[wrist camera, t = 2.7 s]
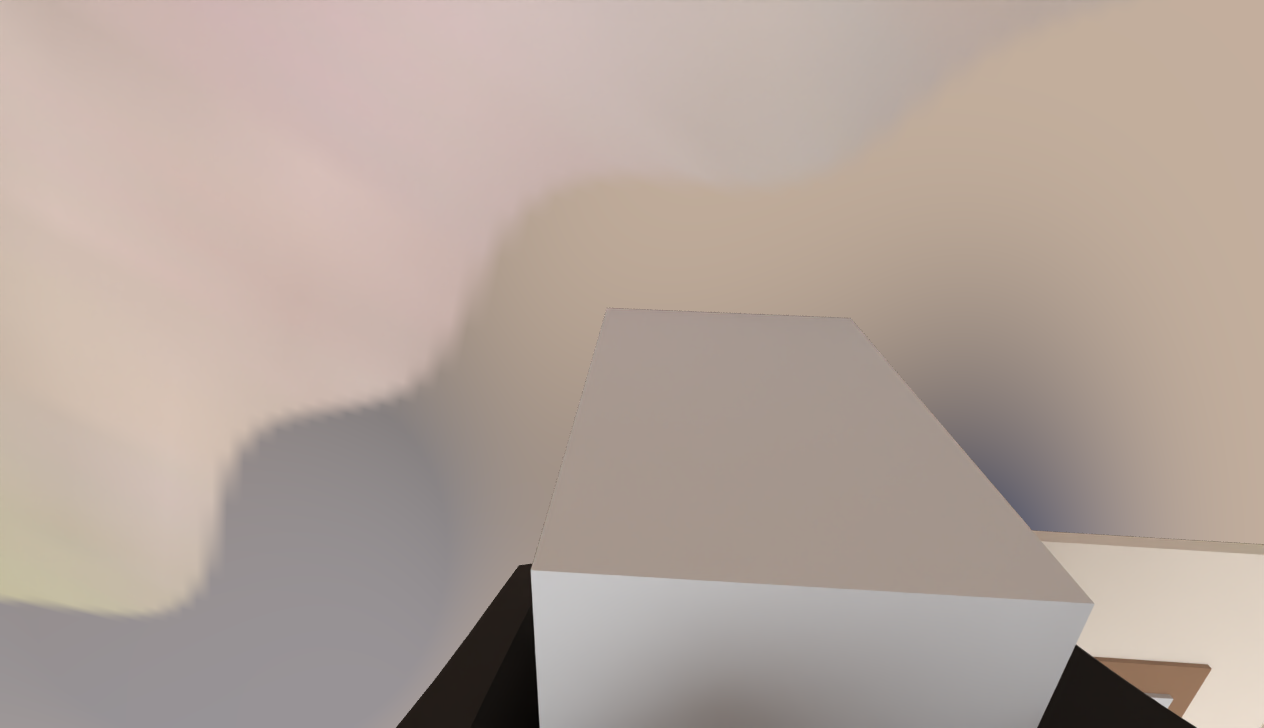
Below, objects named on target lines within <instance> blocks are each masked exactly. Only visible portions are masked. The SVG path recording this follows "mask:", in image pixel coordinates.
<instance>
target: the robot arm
mask: <svg viewBox="0 0 1264 728" xmlns="http://www.w3.org/2000/svg"><path fill="white" fill-rule="evenodd" d="M531 567H532V564H526V565H519V566H518V568H517V569H516V570H515V572H514V573H513V574H512V576H511V577H510V578H509V580H508V581H507V582H506V584H505V585H504V586H503V588H502V589H501V591H500V592H499V593H498V595H497V596H496V597H495V599H494V600H493V602H492V603H491V605H490V606H489V607H488V608H487V610H486V611H485V613H484V614H483V615H482V617H481V618H480V620H479V621H478V622H477V624H476V625H475V626H474V628H473V629H472V631H471V632H470V634H469V635H468V636H467V637H466V639H465V640H464V641H463V643H462V644H461V645H460V647H459V648H458V649H457V651H456V652H455V654H454V655H453V656H452V657H451V659H450V660H449V661H448V663H447V664H446V665H445V667H444V668H443V669H442V671H441V672H440V673H439V675H438V676H437V678H436V679H435V680H434V681H433V683H432V684H431V685H430V686H429V688H428V689H427V690H426V691H425V692H424V694H423V695H422V696H421V697H420V699H419V700H418V701H417V702H416V704H415V705H414V706H413V707H412V709H411V710H410V711H409V712H408V713H407V715H406V716H405V717H404V718H403V720H402V721H401V722H400V723H399V725H398V726H397V727H396V728H540V724H539V707H538V689H537V672H536V655H535V637H534V620H533V603H532V585H531ZM1037 728H1197V727H1195V726H1194V725H1192V724H1191V723H1189V722H1187V721H1186V720H1184V719H1183V718H1181V717H1180V716H1178V715H1177V714H1175V713H1174V712H1172V711H1171V710H1169V709H1167V708H1166V707H1164V706H1163V705H1161V704H1160V703H1158V702H1157V701H1156V700H1154V699H1153V698H1151V697H1150V696H1148V695H1147V694H1145V693H1144V692H1142V691H1141V690H1139V689H1138V688H1136V687H1135V686H1134V685H1132V684H1131V683H1129V682H1128V681H1126V680H1125V679H1124V678H1122V677H1121V676H1119V675H1118V674H1116V673H1115V672H1113V671H1112V670H1111V669H1109V668H1108V667H1107V666H1105V665H1104V664H1102V663H1101V662H1100V661H1098V660H1097V659H1096V658H1094V657H1093V656H1091V655H1090V654H1089V653H1087V652H1086V651H1084V650H1083V649H1082V648H1080V647H1079V646H1078V645H1075V647H1074V649H1073V652H1072V654H1071V656H1070V658H1069V660H1068V662H1067V665H1066V667H1065V669H1064V671H1063V673H1062V675H1061V677H1060V680H1059V682H1058V684H1057V686H1056V688H1055V690H1054V692H1053V695H1052V697H1051V699H1050V701H1049V703H1048V705H1047V708H1046V710H1045V712H1044V714H1043V716H1042V718H1041V720H1040V723H1039V725H1038V727H1037Z"/></svg>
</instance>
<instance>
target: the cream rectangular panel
mask: <svg viewBox="0 0 1264 728" xmlns="http://www.w3.org/2000/svg"><path fill="white" fill-rule="evenodd" d="M1032 531H1033V530H1032ZM1033 532H1034V533H1035V534H1036V536H1037V537H1038V538H1039V539H1040V540H1041V542H1042V543H1043V544H1044V545H1045V546H1046V547H1047V549H1048V550H1049V551H1050V552H1051V553H1052V554H1053V556H1054V557H1055V558H1056V559H1057V560H1058V561H1059V563H1060V564H1061V565H1062V566H1063V567H1064V568H1065V570H1066V571H1067V572H1068V573H1069V574H1070V576H1071V577H1072V578H1073V579H1074V580H1075V581H1076V583H1077V584H1078V585H1079V586H1080V587H1081V588H1082V590H1083V591H1084V592H1085V593H1086V594H1087V595H1088V597H1089V598H1090V599H1091V600H1092V601H1093V602H1094V606H1093V609H1092V611H1091V613H1090V615H1089V617H1088V619H1087V621H1086V624H1085V626H1084V628H1083V630H1082V632H1081V634H1080V637H1079V639H1078V641H1077V643H1076V645H1078V646H1079V647H1080V648H1082V649H1083V650H1084V651H1086V652H1087V653H1089V654H1090V655H1091V656H1093V657H1094V658H1096V659H1097V660H1098V661H1100V662H1101V663H1102V664H1104V665H1105V666H1107V667H1108V668H1109V669H1111V670H1112V671H1113V672H1115V673H1116V674H1118V675H1119V676H1121V677H1122V678H1124V679H1125V680H1126V681H1128V682H1129V683H1131V684H1132V685H1134V686H1135V687H1136V688H1138V689H1139V690H1141V691H1142V692H1144V693H1145V694H1147V695H1148V696H1150V697H1151V698H1153V699H1154V700H1156V701H1157V702H1158V703H1160V704H1161V705H1163V706H1164V707H1166V708H1167V709H1169V710H1171V711H1172V712H1174V713H1175V714H1177V715H1178V716H1180V717H1181V718H1183V719H1184V720H1186V721H1187V722H1189V723H1191V724H1192V725H1194V726H1195V727H1197V728H1261V726H1262V725H1263V723H1264V544H1247V543H1232V542H1215V541H1198V540H1182V539H1165V538H1148V537H1132V536H1116V535H1098V534H1082V533H1066V532H1048V531H1033Z"/></svg>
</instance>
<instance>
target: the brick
mask: <svg viewBox="0 0 1264 728" xmlns="http://www.w3.org/2000/svg"><path fill="white" fill-rule="evenodd" d="M531 585H532V603H533V620H534V637H535V655H536V672H537V689H538V707H539V724H540V728H1037V727H1038V725H1039V723H1040V720H1041V718H1042V716H1043V714H1044V712H1045V710H1046V708H1047V705H1048V703H1049V701H1050V699H1051V697H1052V695H1053V692H1054V690H1055V688H1056V686H1057V684H1058V682H1059V680H1060V677H1061V675H1062V673H1063V671H1064V669H1065V667H1066V665H1067V662H1068V660H1069V658H1070V656H1071V654H1072V652H1073V649H1074V647H1075V645H1076V643H1077V641H1078V639H1079V637H1080V634H1081V632H1082V630H1083V628H1084V626H1085V624H1086V621H1087V619H1088V617H1089V615H1090V613H1091V611H1092V609H1093V606H1094V602H1093V601H1092V600H1091V599H1090V598H1089V597H1088V595H1087V594H1086V593H1085V592H1084V591H1083V590H1082V588H1081V587H1080V586H1079V585H1078V584H1077V583H1076V581H1075V580H1074V579H1073V578H1072V577H1071V576H1070V574H1069V573H1068V572H1067V571H1066V570H1065V568H1064V567H1063V566H1062V565H1061V564H1060V563H1059V561H1058V560H1057V559H1056V558H1055V557H1054V556H1053V554H1052V553H1051V552H1050V551H1049V550H1048V549H1047V547H1046V546H1045V545H1044V544H1043V543H1042V542H1041V540H1040V539H1039V538H1038V537H1037V536H1036V534H1035V533H1034V532H1033V531H1032V530H1031V529H1030V528H1029V526H1028V525H1027V524H1026V523H1025V522H1024V521H1023V519H1022V518H1021V517H1020V516H1019V515H1018V514H1017V512H1016V511H1015V510H1014V509H1013V508H1012V506H1011V505H1010V504H1009V503H1008V502H1007V501H1006V499H1005V498H1004V497H1003V496H1002V495H1001V493H1000V492H999V491H998V490H997V489H996V488H995V487H994V485H993V484H992V483H991V482H990V481H989V479H988V478H987V477H986V476H985V475H984V474H983V473H982V471H981V470H980V469H979V468H978V467H977V466H976V464H975V463H974V462H973V461H972V460H971V459H970V457H969V456H968V455H967V454H966V452H965V451H964V450H963V449H962V448H961V447H960V445H959V444H958V443H957V442H956V441H955V440H954V438H953V437H952V436H951V435H950V434H949V433H948V431H947V430H946V429H945V428H944V427H943V426H942V424H941V423H940V422H939V421H938V420H937V418H936V417H935V416H934V415H933V414H932V413H931V412H930V410H929V409H928V408H927V407H926V406H925V405H924V403H923V402H922V401H921V400H920V399H919V397H918V396H917V395H916V394H915V393H914V392H913V390H912V389H911V388H910V387H909V386H908V385H907V383H906V382H905V381H904V380H903V379H902V377H901V376H899V374H898V373H897V372H896V370H895V369H894V368H893V367H892V366H891V365H890V364H889V362H888V361H887V360H886V359H885V358H884V356H883V355H882V354H881V353H880V352H879V351H878V349H877V348H876V347H875V346H874V345H873V344H872V342H871V341H870V340H869V339H868V338H867V336H866V335H865V334H864V333H863V332H862V331H861V329H860V328H859V327H858V326H857V325H856V324H855V322H854V321H853V320H852V319H851V318H835V317H813V316H812V317H810V316H789V315H765V314H741V313H716V312H692V311H668V310H645V309H621V308H607V309H606V313H605V316H604V320H603V323H602V326H601V330H600V333H599V337H598V340H597V344H596V347H595V350H594V354H593V357H592V361H591V364H590V368H589V371H588V375H587V378H586V381H585V385H584V389H583V392H582V395H581V399H580V402H579V406H578V409H577V412H576V416H575V419H574V423H573V426H572V430H571V433H570V437H569V440H568V443H567V447H566V450H565V454H564V457H563V461H562V464H561V468H560V471H559V474H558V478H557V481H556V485H555V488H554V492H553V495H552V498H551V502H550V505H549V509H548V512H547V516H546V519H545V523H544V526H543V530H542V533H541V537H540V540H539V543H538V547H537V550H536V553H535V557H534V561H533V564H532V567H531Z"/></svg>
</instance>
